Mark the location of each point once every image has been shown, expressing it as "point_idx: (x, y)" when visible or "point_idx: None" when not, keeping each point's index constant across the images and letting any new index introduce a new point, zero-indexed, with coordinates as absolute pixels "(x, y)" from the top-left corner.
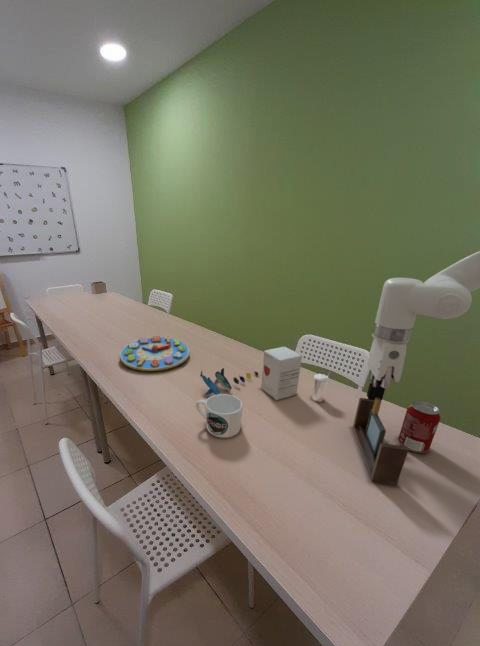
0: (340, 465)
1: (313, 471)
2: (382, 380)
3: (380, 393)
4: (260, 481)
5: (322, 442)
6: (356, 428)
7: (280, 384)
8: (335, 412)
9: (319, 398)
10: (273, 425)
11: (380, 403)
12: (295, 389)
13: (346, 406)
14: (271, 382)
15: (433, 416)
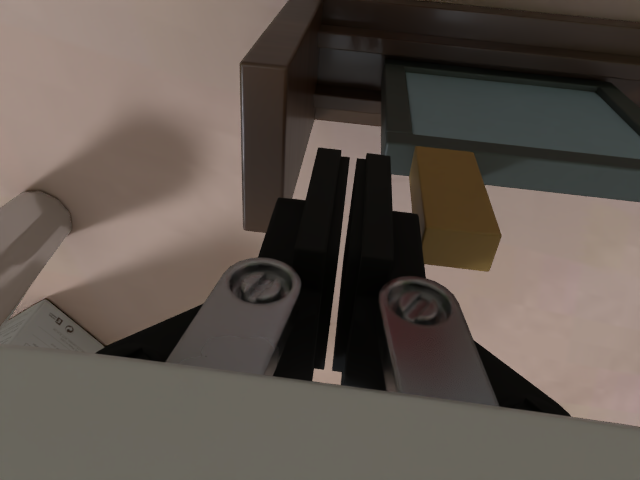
0: (595, 248)
1: (613, 343)
2: (289, 326)
3: (419, 258)
4: None
5: (433, 277)
6: (325, 109)
7: None
8: (149, 155)
9: (59, 228)
10: None
11: (493, 219)
12: (38, 332)
13: (48, 68)
14: None
15: None
